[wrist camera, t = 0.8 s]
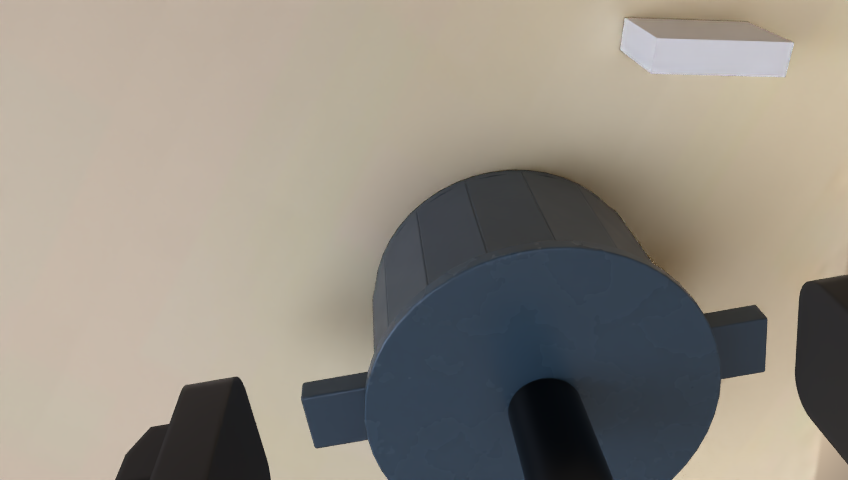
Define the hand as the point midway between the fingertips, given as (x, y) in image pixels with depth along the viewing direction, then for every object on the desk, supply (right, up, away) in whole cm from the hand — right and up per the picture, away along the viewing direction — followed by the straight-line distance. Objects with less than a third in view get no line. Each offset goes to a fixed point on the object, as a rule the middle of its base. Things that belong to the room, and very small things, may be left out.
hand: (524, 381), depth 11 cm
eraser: (+9, +10, +19) cm, 23 cm away
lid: (+3, -4, +17) cm, 17 cm away
